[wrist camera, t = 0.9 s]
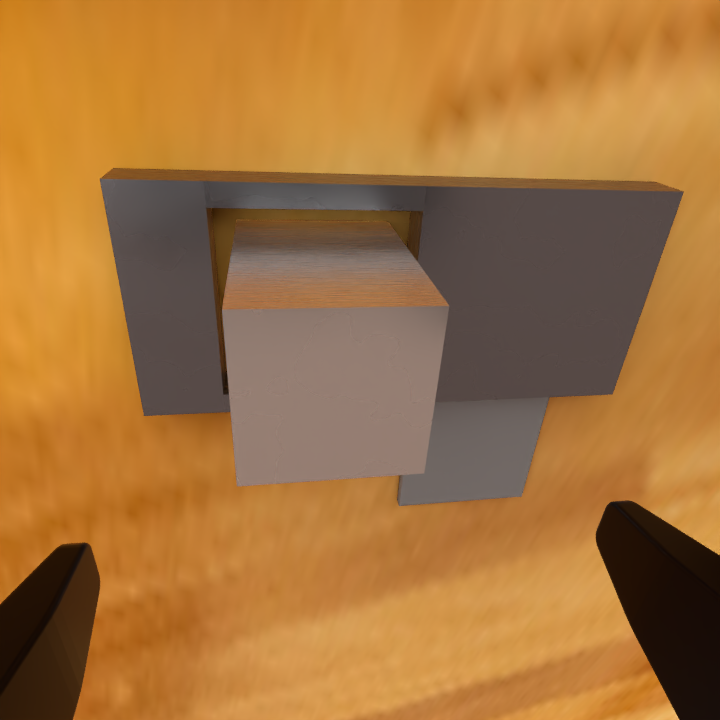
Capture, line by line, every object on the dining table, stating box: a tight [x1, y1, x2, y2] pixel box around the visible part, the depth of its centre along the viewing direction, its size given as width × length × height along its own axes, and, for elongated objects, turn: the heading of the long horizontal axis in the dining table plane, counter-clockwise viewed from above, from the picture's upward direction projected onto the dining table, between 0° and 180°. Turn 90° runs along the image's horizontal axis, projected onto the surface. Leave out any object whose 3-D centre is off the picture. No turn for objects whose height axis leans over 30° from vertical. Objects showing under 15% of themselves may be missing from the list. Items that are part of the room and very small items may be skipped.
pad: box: [397, 397, 549, 506], centre depth 23 cm, size 6×6×1 cm
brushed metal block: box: [222, 219, 449, 486], centre depth 16 cm, size 5×5×7 cm
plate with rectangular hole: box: [100, 168, 683, 416], centre depth 18 cm, size 18×8×2 cm, turn 87°
